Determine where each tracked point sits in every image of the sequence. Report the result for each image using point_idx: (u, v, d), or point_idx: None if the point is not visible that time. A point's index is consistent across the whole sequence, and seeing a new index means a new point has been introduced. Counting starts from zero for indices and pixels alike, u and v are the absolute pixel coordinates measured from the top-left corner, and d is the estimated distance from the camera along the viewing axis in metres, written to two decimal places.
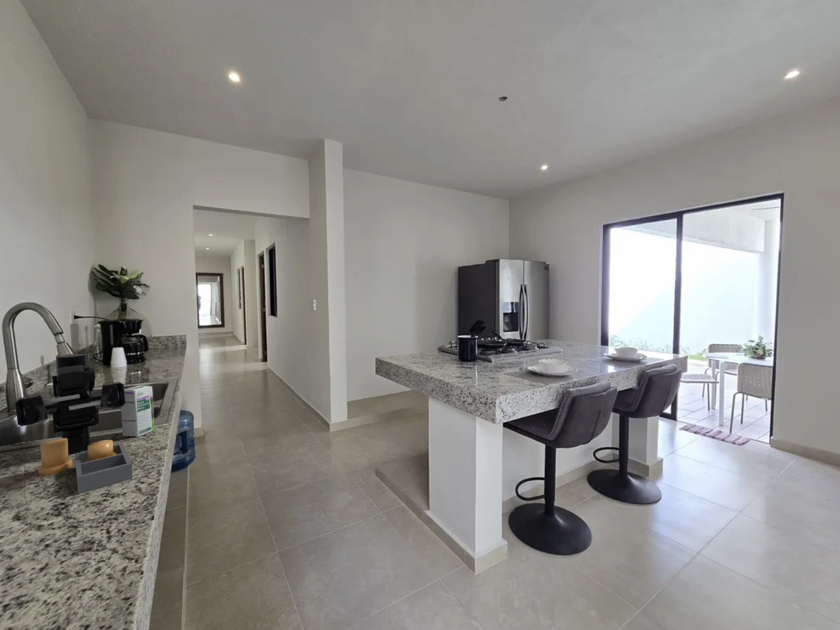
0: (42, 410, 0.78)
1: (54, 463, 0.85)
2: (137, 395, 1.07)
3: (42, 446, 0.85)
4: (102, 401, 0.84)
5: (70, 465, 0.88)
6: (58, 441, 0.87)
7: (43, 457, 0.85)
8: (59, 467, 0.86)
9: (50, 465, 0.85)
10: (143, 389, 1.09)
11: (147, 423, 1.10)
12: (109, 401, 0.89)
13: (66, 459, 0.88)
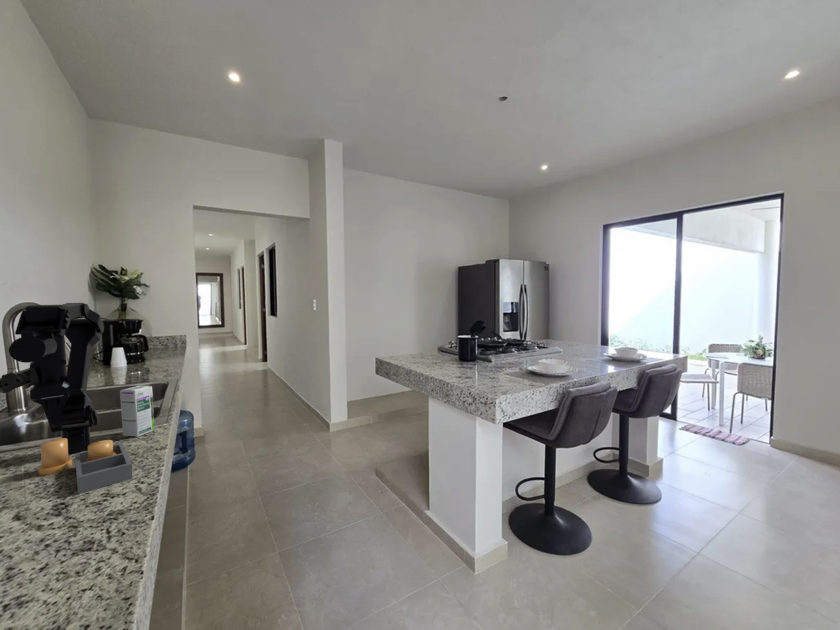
0: None
1: (54, 463, 0.85)
2: (137, 395, 1.07)
3: (42, 446, 0.85)
4: (48, 420, 0.83)
5: (70, 465, 0.88)
6: (58, 441, 0.87)
7: (43, 457, 0.85)
8: (59, 467, 0.86)
9: (50, 465, 0.85)
10: (143, 389, 1.09)
11: (147, 423, 1.10)
12: None
13: (66, 459, 0.88)
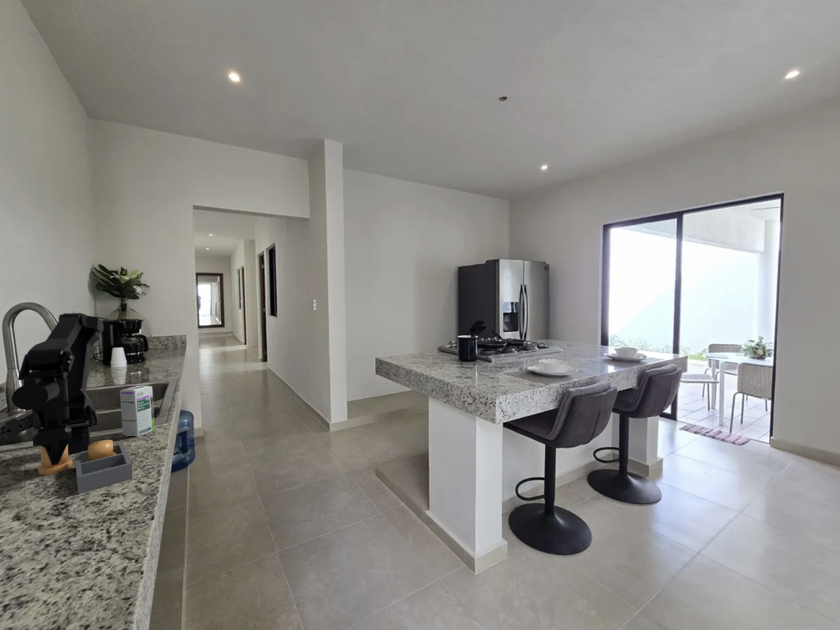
0: None
1: None
2: (137, 395, 1.07)
3: None
4: (50, 461, 0.85)
5: (70, 465, 0.88)
6: None
7: (43, 457, 0.85)
8: (59, 467, 0.86)
9: (50, 465, 0.85)
10: (143, 389, 1.09)
11: (147, 423, 1.10)
12: None
13: (66, 459, 0.87)
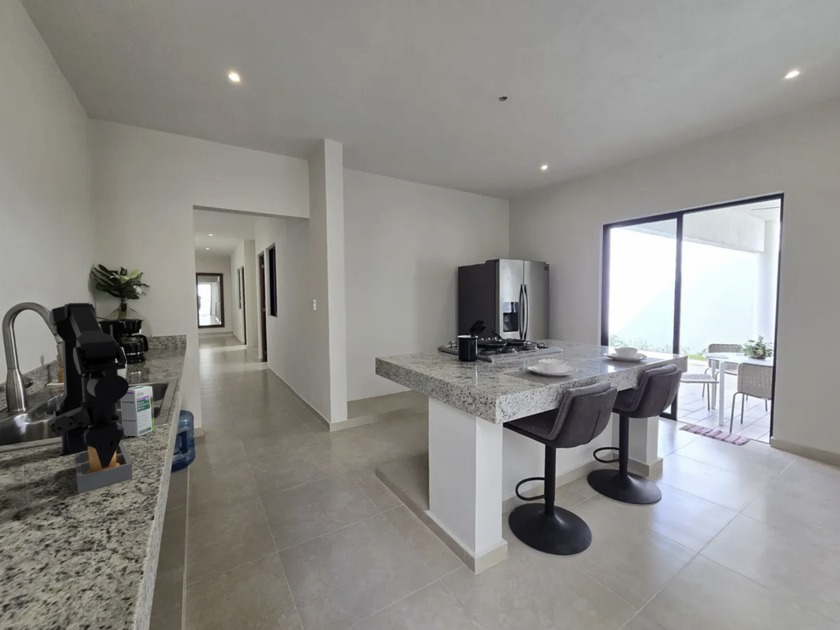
0: None
1: (103, 468, 0.80)
2: (137, 395, 1.07)
3: (91, 450, 0.80)
4: None
5: None
6: None
7: (91, 461, 0.80)
8: None
9: (99, 470, 0.80)
10: (143, 389, 1.09)
11: (147, 423, 1.10)
12: None
13: (114, 463, 0.82)
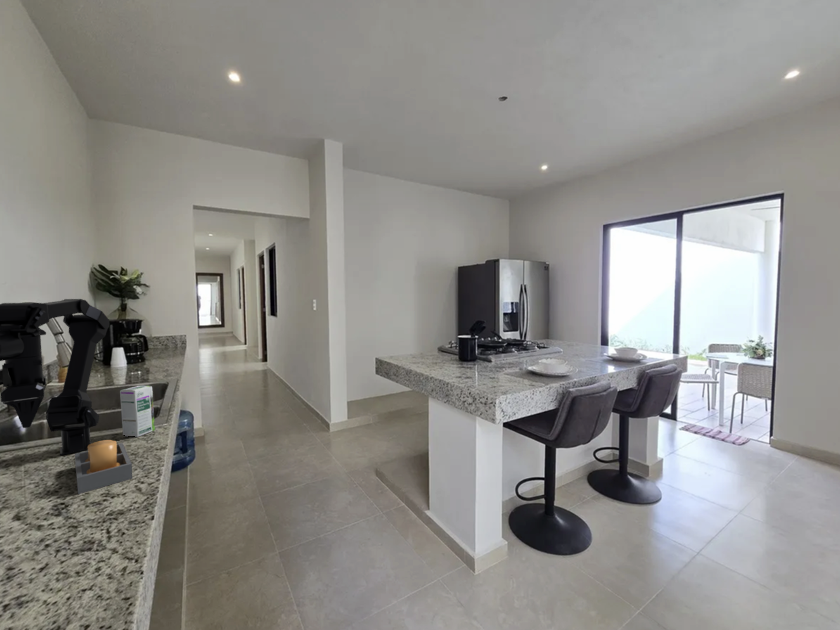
0: None
1: (104, 467, 0.80)
2: (137, 395, 1.07)
3: (92, 449, 0.80)
4: None
5: None
6: (108, 444, 0.82)
7: (93, 461, 0.80)
8: None
9: (100, 469, 0.80)
10: (143, 389, 1.09)
11: (147, 423, 1.10)
12: None
13: (115, 463, 0.83)
